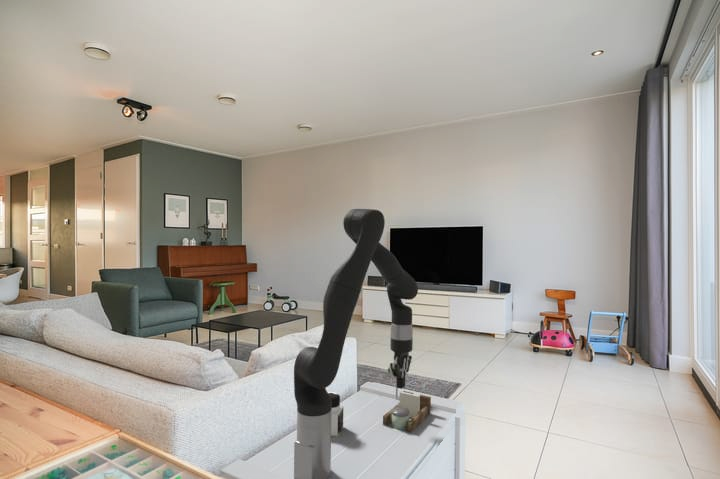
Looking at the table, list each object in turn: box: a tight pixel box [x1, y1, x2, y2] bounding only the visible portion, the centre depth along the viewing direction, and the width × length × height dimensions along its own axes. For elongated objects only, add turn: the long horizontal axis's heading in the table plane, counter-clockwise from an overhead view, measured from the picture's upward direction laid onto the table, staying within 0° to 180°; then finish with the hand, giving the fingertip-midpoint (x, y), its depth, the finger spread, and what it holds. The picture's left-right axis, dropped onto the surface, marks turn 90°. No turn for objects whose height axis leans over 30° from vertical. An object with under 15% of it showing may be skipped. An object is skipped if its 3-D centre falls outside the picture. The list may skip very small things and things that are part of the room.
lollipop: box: [387, 360, 399, 400], centre depth 156 cm, size 7×7×15 cm
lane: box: [382, 390, 432, 434], centre depth 138 cm, size 18×11×6 cm, turn 149°
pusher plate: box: [399, 391, 420, 419], centre depth 142 cm, size 7×7×8 cm
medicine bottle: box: [327, 391, 344, 438], centre depth 129 cm, size 7×7×12 cm
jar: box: [390, 406, 410, 431], centre depth 133 cm, size 6×6×5 cm
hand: (400, 387), depth 133 cm, fingers closed
